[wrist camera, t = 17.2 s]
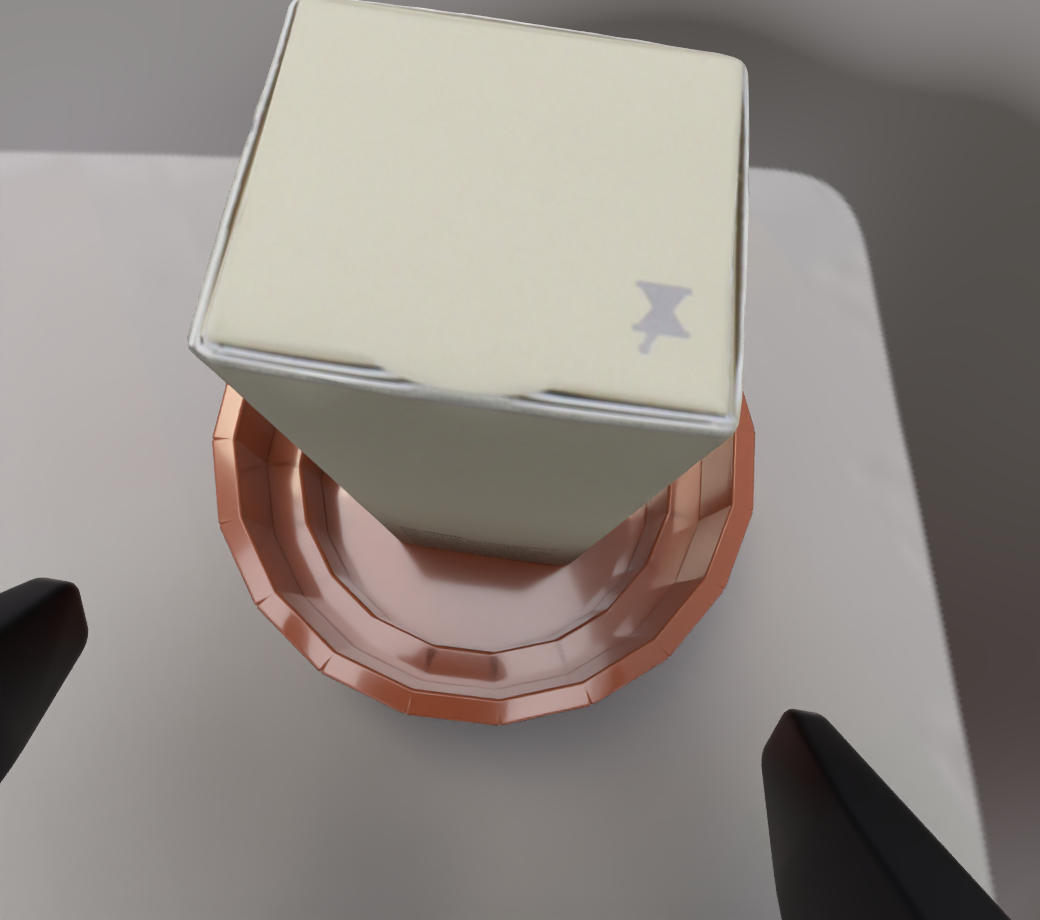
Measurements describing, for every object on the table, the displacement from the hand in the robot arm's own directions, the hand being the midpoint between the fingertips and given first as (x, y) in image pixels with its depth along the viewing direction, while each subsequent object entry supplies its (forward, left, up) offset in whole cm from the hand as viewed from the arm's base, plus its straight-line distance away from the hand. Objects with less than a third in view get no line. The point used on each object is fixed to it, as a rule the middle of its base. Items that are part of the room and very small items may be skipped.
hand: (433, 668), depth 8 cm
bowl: (+5, +1, -10) cm, 11 cm away
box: (+4, +1, -10) cm, 11 cm away
